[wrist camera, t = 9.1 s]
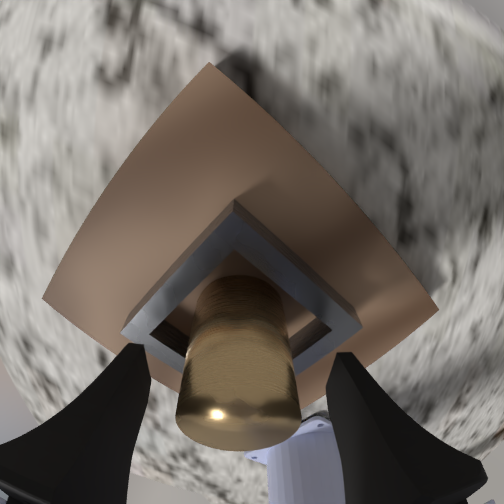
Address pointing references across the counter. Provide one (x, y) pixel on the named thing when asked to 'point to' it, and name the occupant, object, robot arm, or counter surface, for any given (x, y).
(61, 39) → the counter surface
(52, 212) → the counter surface
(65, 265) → the jig plate
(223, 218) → the frame
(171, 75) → the counter surface
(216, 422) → the brass cylinder
